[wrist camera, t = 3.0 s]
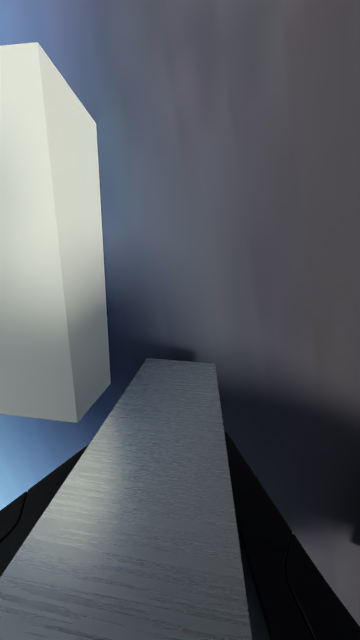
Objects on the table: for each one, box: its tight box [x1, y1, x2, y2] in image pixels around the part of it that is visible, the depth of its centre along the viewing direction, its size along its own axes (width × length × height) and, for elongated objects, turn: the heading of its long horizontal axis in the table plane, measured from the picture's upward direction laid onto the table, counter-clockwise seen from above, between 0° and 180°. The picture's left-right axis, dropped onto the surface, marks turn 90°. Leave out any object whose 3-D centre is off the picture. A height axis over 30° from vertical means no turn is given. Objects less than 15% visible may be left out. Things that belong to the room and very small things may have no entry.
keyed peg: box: [0, 358, 252, 640], centre depth 6 cm, size 3×5×8 cm
